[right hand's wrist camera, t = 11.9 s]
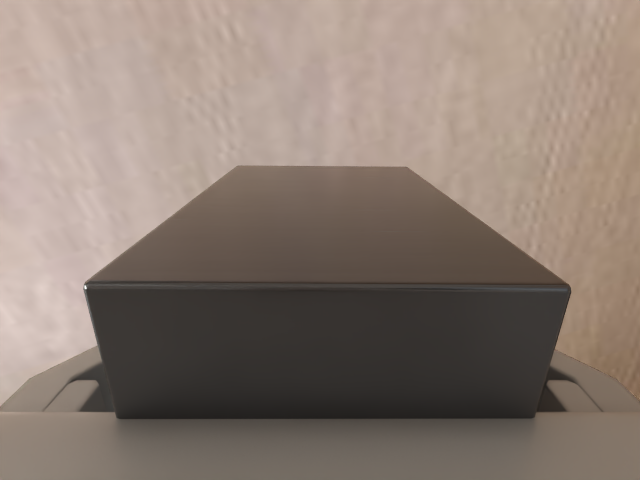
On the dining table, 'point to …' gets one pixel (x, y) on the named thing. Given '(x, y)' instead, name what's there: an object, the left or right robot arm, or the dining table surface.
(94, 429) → the right robot arm
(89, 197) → the dining table surface
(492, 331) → the bar
